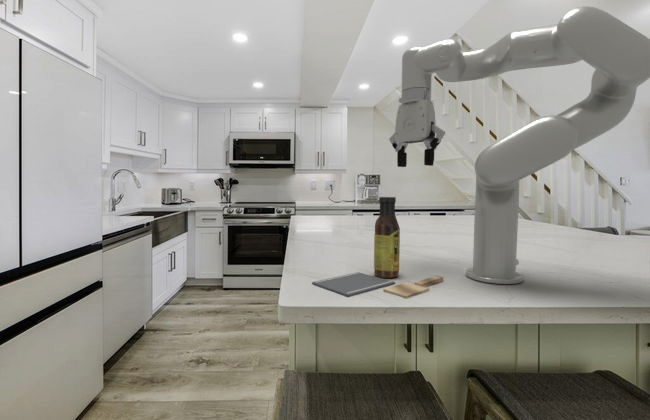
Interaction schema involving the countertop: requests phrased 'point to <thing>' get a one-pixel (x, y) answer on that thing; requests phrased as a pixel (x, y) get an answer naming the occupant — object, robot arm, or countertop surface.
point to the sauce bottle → (386, 240)
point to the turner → (413, 287)
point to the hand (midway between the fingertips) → (414, 165)
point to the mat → (353, 283)
